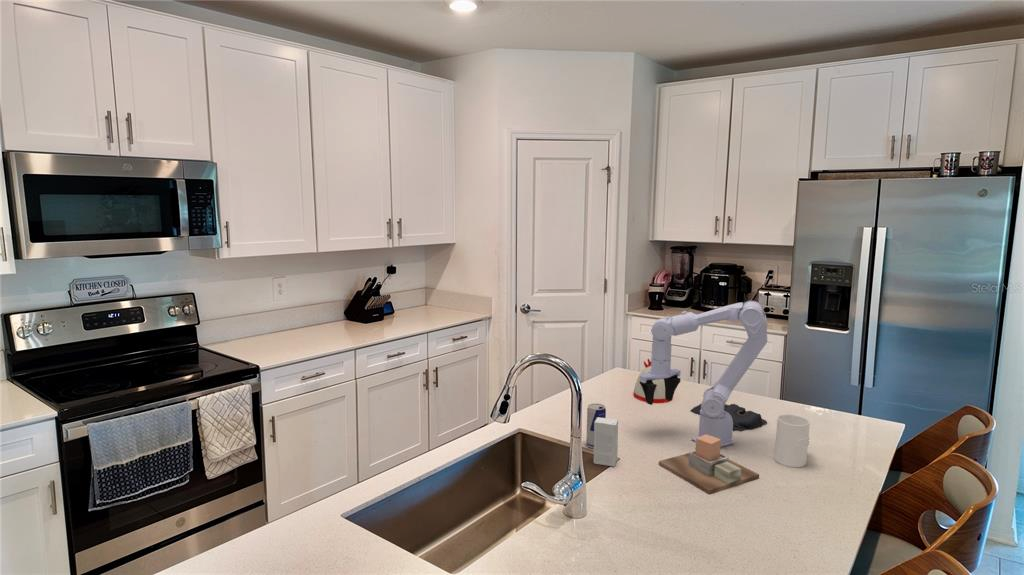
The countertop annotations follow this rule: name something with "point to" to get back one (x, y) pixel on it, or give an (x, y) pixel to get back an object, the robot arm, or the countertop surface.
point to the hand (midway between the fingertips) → (659, 401)
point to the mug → (792, 440)
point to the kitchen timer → (659, 391)
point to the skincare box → (605, 441)
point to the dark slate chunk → (739, 417)
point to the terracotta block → (708, 447)
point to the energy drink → (592, 415)
